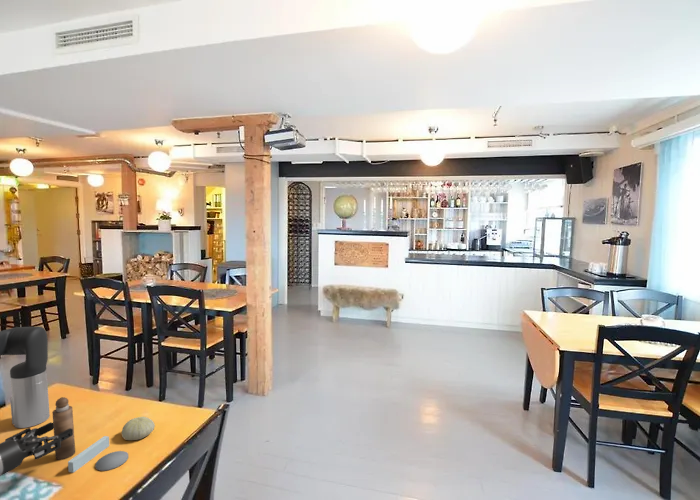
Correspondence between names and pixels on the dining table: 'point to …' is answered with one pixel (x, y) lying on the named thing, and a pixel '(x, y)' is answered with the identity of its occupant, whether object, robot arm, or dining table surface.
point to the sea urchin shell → (137, 428)
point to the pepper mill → (63, 428)
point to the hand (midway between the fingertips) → (62, 428)
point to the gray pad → (111, 460)
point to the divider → (88, 454)
